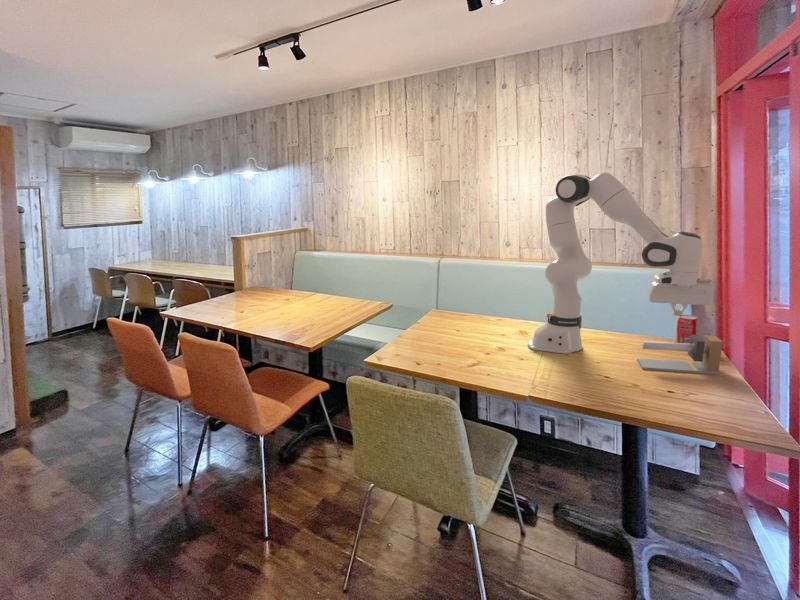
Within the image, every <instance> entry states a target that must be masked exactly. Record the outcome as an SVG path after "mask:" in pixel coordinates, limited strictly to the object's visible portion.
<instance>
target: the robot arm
mask: <svg viewBox="0 0 800 600" xmlns="http://www.w3.org/2000/svg"><path fill="white" fill-rule="evenodd" d="M555 194H556V197H555V196H554V197H553V198H551V199H549V200H548V201H547V202H546V204H545V220H546V221H545V222H546V227H547V233H548V239H549V244H550V247H551V248H553V249H554V251H555V253H556V254H557V257H558V259H555V260H553V261H552V262H551V263H550V264H548V265H547V267H546V268H545V271H544V275H545V279H546V281H547V282H548V283H549V284H550V286H551V291H552V297H553V298H552V299H553V300H552V301H553V303H552V305H553V307H552V313H551V312H547V313H546V318H547V322H545V323H544V324H543V325H541V326H539V327H538V328H536V329H535V331H534V334H533V337H531V338H529V340H528V342H527V346H528V348H530V350H534V351H540V352H547V353H548V352H550V353H556V354H557V353H558V354H566V355H568V354H571V353H573V352H574V353H575V352H579V351H581V350H583V347H584V346H583V343H582V335H581V329H582V324H583V317H582V315H581V314H582V313H581V312H582V296H581V294H579V291H578V286H577V285H578V282H579V281H582V280H584V279H585V278H587V277H588V276H589V275H590V274H591V272H592V269H593V268H592V267H593V265H592V264H593V263H592V262H591V260H590V259H589V258H588V257H587V256H586V253H585V251H584V250H583V248H582V245H581V243H580V239H579V236H578V231H577V224H576V219H575V213H574V209H575V207H578V206H580V205H581V204H583V203H585V202H587V201H588V200H592V201H594V202H595V204H596V205H597V206H598V207H599V208H600V209H601V211H602V212H603V214H605V215H606V216H607V217H608V218H609V219H610V220H611V221H613V222H618V223H621V224H623V225H627V226H629V227H630V228H632V229H633V230H634V231H635V232H637V234H638V235H639V236H640V237H641V238H642V240H644V242H645V243H646V245H644V247H643V248H642V251H641V258H642V261H643V262H644V263H645V264H646V265H647V266H650V267H654V268H659V267H669V271H665V272H661V273H657V274H654V276H653V280H654V281H652V282H651V284H650V286H649V288H648V293H647V300H649V302H651V303H656V304H657V303H658V304H659V303H660V304H661V303H662V304H669V307H670V308H671V310H672V312H671V315H672V316H678V317H679V316H682V315H684V311H685V310H686V309H687V308H688V306H689V305H691V306H693V305H695V306H697V305H698V306H711V305H712V304H713V303H714V291H715V289H716V282H715V281H714V280H712V278H711V279H708V278H706V279H705V278H698V277H699V273H700V270H699V269H700V267H699V264H700V262H701V259H702V253H703V239H702V237H701V236H700V235H699V234H696V233H693V232H686V231H679V232H677V233H675V234H673V235H671V236H670V235H667V234H666V233H664V232H663V231H662V230H661V229H660V228H659V227H658V226H657V225H656V224H655V223H654V222H653V220H651V218H649V217H648V216H647V214H646V213H645V212H644V211H643V209H642V207H640V205H639V204H638V202H637V201H636V199H635V197H633V195H632V194H631V192H630V191H629V190H628V189H627V187H626V186H625V185H624V184H623V183H622V182H621V181H619V180H618V178H617V177H615V176H614V175H613V174H611V173H610V172H601V173H599V174H597V175H595V176H593V178H591V177H589V176H587V175H583V174H568V175H565V176H563V177H561V178H560V179H559V180H558V181H557V184H556V185H555ZM677 305H681V307H680V309H676V308H675V307H676V306H677Z"/></svg>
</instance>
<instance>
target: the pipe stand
mask: <svg viewBox="0 0 800 600" xmlns="http://www.w3.org/2000/svg"><path fill="white" fill-rule="evenodd" d="M703 340H704V341H705V346H704V353H703V361H702V362H699V361H689V360H688V361H685V360H684V361H681V360H667V359H665V360H664V359H649V358H637V359H636V361H637V363H638V364H639V366H640V368H641V369H642V370H646V371H647V370H648V371H649V370H651V371H662V372H677V373H691V374H693V373H694V374H704V375H705V374H706V375H719V376H720V375H721V371H720V364H721V356H722V349H723V343H724V341H723V340H721V339H720V338H719V337H717V336H716V335H712V334H711V335H710V334H709V335H708V334H707V335H706V334H704V335H703ZM694 346H695V344H694V343H693V344H689V343H675V342H667V341H652V340H651V341H649V340H643V341H642V343H641V347H642V349H643V350H655V351H671V352H687V353H688V352H694Z"/></svg>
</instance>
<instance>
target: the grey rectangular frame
mask: <svg viewBox="0 0 800 600" xmlns="http://www.w3.org/2000/svg"><path fill="white" fill-rule="evenodd" d="M693 343H694V344H695V346H694V352H687V355H688V356H689V357H690V358H691V360H693V362H700V363H701V362H702V361H703V353H704V346H705V341H704V338H701V336H699V335H698V334H696V335H690V339H689V344H693Z"/></svg>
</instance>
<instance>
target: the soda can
mask: <svg viewBox="0 0 800 600" xmlns="http://www.w3.org/2000/svg"><path fill="white" fill-rule="evenodd" d="M698 325H699V321H698V317H697V316H695V315H691V314H690V315H689V314H682V316H678V318H677V322H676V332H675V342H674V343H689V339H690V335H698V334H697V333H698V332H697V331H698Z"/></svg>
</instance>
